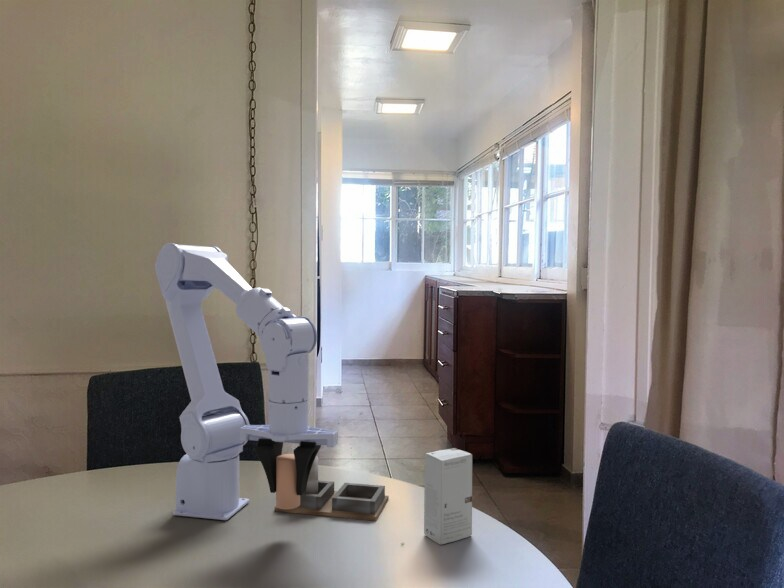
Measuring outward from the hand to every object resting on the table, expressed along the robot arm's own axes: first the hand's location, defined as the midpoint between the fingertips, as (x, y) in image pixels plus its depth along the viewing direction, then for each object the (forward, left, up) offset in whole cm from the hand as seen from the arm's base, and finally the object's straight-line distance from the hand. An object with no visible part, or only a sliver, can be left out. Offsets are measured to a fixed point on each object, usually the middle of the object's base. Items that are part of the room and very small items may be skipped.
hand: (288, 491), depth 82 cm
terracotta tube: (0, 0, -2) cm, 2 cm away
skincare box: (+23, +5, -7) cm, 25 cm away
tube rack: (+3, +12, -6) cm, 14 cm away
